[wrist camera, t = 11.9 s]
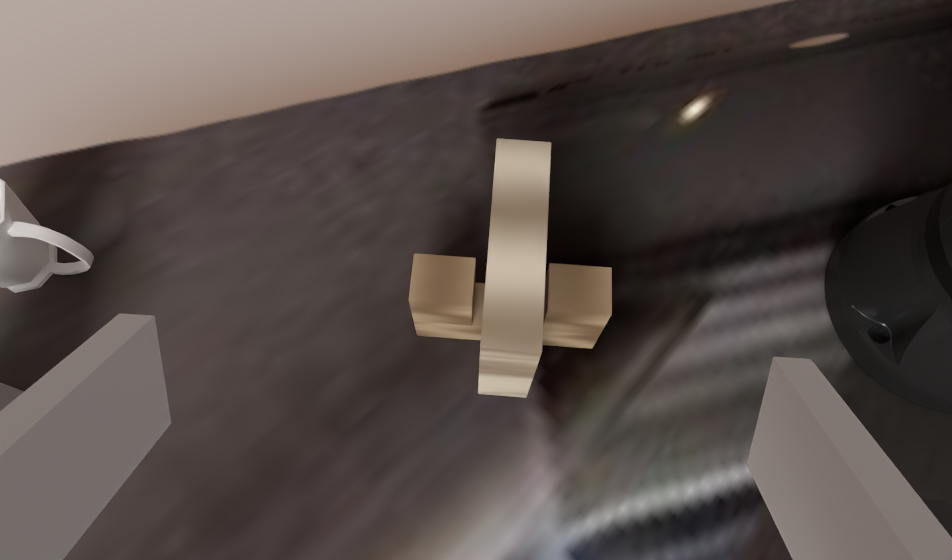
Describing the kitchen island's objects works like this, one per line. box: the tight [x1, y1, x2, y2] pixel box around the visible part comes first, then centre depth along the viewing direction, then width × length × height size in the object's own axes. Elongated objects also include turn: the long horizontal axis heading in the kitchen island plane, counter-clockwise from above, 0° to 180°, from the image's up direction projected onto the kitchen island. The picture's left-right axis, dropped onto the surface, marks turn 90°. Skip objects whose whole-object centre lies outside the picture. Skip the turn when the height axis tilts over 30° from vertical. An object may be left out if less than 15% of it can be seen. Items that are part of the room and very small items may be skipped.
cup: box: [0, 179, 94, 293], centre depth 45 cm, size 7×10×8 cm
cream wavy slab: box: [478, 138, 551, 397], centre depth 40 cm, size 12×3×10 cm, turn 176°
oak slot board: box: [409, 254, 612, 348], centre depth 44 cm, size 12×3×7 cm, turn 86°
